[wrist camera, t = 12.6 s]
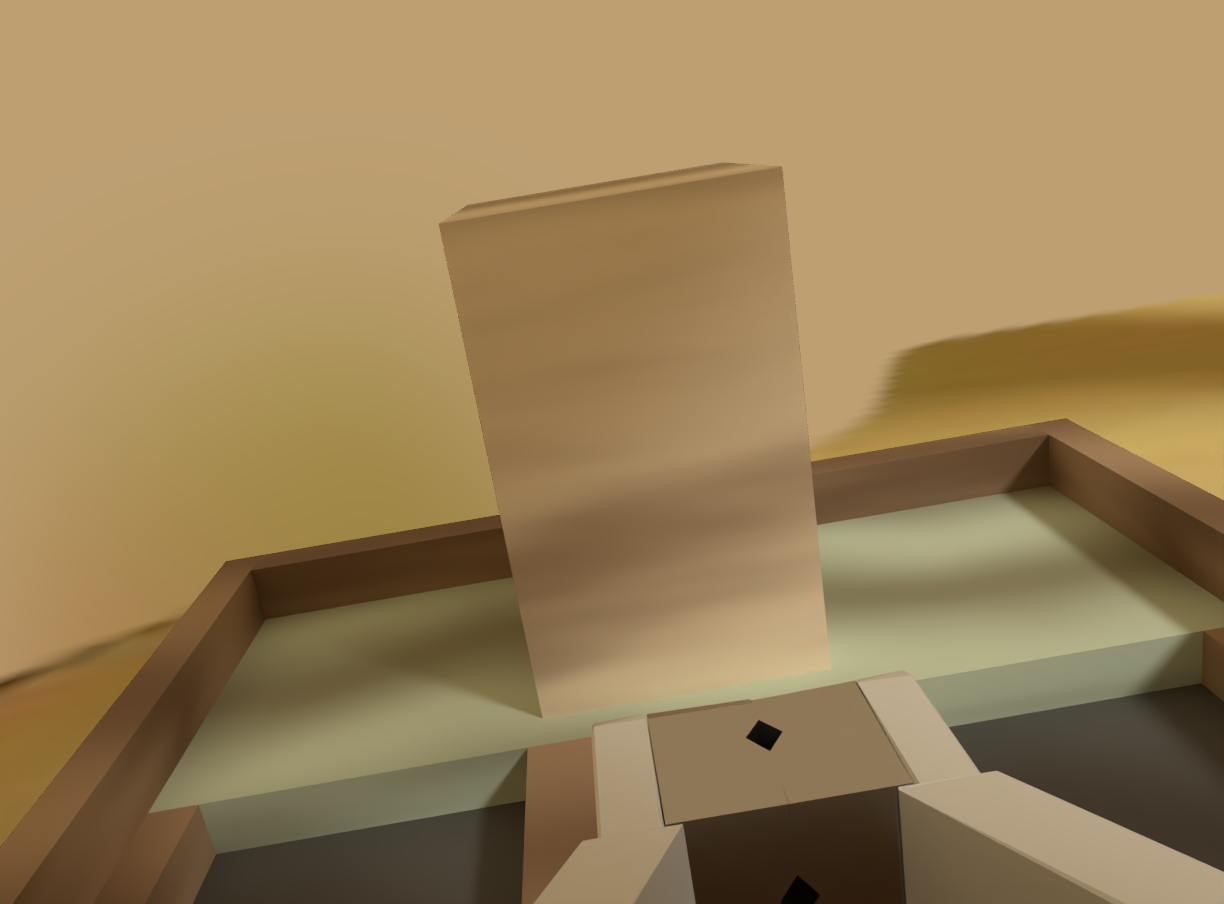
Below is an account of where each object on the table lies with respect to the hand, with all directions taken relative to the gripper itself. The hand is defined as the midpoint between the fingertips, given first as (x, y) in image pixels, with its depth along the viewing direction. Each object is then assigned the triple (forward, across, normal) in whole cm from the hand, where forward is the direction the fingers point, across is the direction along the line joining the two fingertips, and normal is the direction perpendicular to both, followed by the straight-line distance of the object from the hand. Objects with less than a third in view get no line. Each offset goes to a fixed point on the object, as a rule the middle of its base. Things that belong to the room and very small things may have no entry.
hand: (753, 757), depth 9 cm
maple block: (+12, 0, +5) cm, 13 cm away
